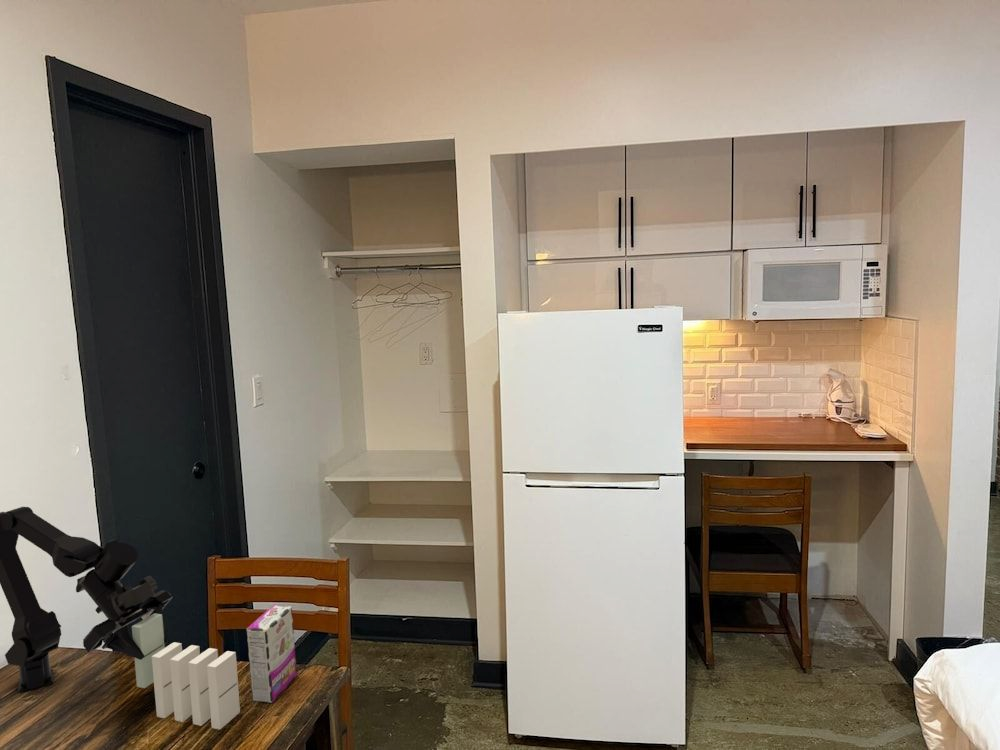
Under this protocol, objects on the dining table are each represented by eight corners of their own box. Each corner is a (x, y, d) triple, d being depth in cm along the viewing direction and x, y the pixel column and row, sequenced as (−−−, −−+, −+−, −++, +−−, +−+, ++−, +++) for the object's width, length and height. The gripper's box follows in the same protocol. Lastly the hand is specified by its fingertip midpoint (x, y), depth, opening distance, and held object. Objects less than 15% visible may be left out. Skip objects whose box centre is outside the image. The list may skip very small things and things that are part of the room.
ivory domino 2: (174, 720, 142) (169, 659, 141) (196, 703, 148) (191, 644, 146) (183, 722, 142) (178, 660, 140) (204, 705, 147) (199, 646, 146)
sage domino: (136, 686, 144) (131, 626, 143) (159, 671, 150) (154, 613, 148) (144, 688, 144) (139, 627, 142) (167, 672, 149) (162, 614, 148)
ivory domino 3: (192, 724, 141) (188, 662, 139) (213, 707, 146) (209, 647, 145) (201, 725, 140) (196, 664, 139) (221, 708, 146) (217, 649, 144)
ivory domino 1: (156, 716, 144) (151, 656, 142) (178, 700, 149) (173, 642, 148) (164, 718, 143) (159, 657, 141) (186, 701, 149) (181, 643, 147)
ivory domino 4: (211, 727, 139) (206, 665, 138) (231, 710, 145) (227, 650, 143) (220, 729, 139) (215, 667, 137) (240, 712, 144) (235, 652, 143)
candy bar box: (277, 673, 159) (272, 604, 157) (297, 675, 158) (293, 605, 156) (250, 702, 148) (245, 627, 146) (272, 704, 147) (267, 629, 145)
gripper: (88, 588, 136) (138, 650, 134) (162, 553, 154) (207, 608, 152) (61, 622, 140) (110, 683, 138) (136, 584, 157) (180, 637, 155)
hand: (154, 650), depth 146 cm, fingers closed on sage domino, 6 cm apart
